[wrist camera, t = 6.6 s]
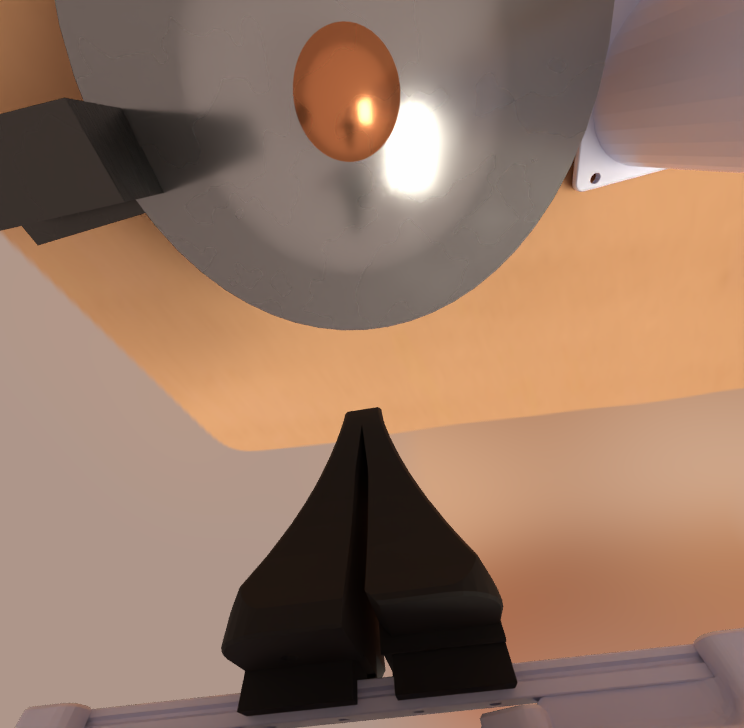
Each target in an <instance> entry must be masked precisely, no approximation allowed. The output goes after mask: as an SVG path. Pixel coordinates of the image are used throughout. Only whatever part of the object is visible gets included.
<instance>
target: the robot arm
mask: <svg viewBox="0 0 744 728" xmlns="http://www.w3.org/2000/svg"><path fill="white" fill-rule="evenodd" d="M665 169H684V170H700V171H717V172H733V173H744V0H615V2H614V10H613V18H612V26H611V33H610V41H609V46H608V51H607V56H606V60H605V65H604V69H603V74H602V78H601V83H600V87H599V91H598V94H597V97H596V100H595V103H594V107H593V110H592V113H591V116H590V119H589V122H588V125H587V129H586V131H585V134H584V136H583V138H582V141H581V143H580V146H579V148H578V150H577V153H576V155H575V162H574V172H573V182H572V185H573V188H574V190H576V191H580V192H581V191H587V190H591V189H594V188H598V187H602V186H606V185H609V184H613V183H617V182H620V181H624V180H628V179H632V178H635V177H639V176H643V175H646V174H650V173H654V172H657V171H661V170H665ZM593 174H596V178H595V180H594V181H593V182H592V183H591V182H590V179H591V177H592V175H593ZM502 610H503V603H502V599H501V596H500V594H499V592H498V590H497V587H496V585H495V583H494V582H493V580H492V578H491V576H490V575H489V573H488V571H487V570H486V568H485V566H484V565H483V563H482V562H481V560H480V558H479V557H478V555H477V554H476V553H475V552H474V551H473V550H472V549H471V548H470V547H469V546H468V545H467V544H466V543H465V542H464V541H463V540H462V539H461V537H460V536H459V535H458V534H457V533H456V532H455V531H454V530H453V528H452V527H451V526H450V525H449V524H448V523H447V522H446V521H445V519H444V518H443V517H442V516H441V515H440V513H439V512H438V511H437V510H436V508H435V507H434V506H433V505H432V503H431V502H430V501H429V500H428V498H427V497H426V496H425V494H424V493H423V492H422V490H421V489H420V488H419V486H418V484H417V483H416V482H415V480H414V479H413V477H412V476H411V474H410V473H409V471H408V469H407V468H406V466H405V464H404V463H403V461H402V459H401V458H400V456H399V454H398V452H397V450H396V448H395V446H394V444H393V443H392V440H391V438H390V436H389V434H388V431H387V429H386V426H385V424H384V421H383V416H382V411H381V409H380V408H378V407H376V408H370V409H363V410H357V411H350V412H347V413H346V414H345V418H344V422H343V425H342V428H341V431H340V433H339V436H338V439H337V441H336V444H335V446H334V449H333V451H332V453H331V456H330V458H329V460H328V462H327V464H326V466H325V468H324V470H323V472H322V474H321V477H320V478H319V480H318V482H317V484H316V486H315V488H314V490H313V491H312V493H311V494H310V496H309V498H308V500H307V501H306V503H305V504H304V506H303V507H302V509H301V510H300V512H299V513H298V515H297V517H296V518H295V519H294V521H293V523H292V524H291V525H290V527H289V528H288V529H287V531H286V532H285V533H284V535H283V536H282V537H281V539H280V540H279V541H278V543H277V544H276V545H275V546H274V548H273V549H272V550H271V552H270V553H269V554H268V555H267V557H266V558H265V559H264V560H263V561H262V562H261V564H260V565H259V566H258V567H257V568H256V569H255V571H254V572H253V573H252V574H251V575H250V576H249V577H248V579H247V580H246V581H245V582H244V583H243V584H242V585H241V587H240V588H239V591H238V594H237V596H236V599H235V602H234V605H233V607H232V610H231V613H230V617H229V620H228V624H227V628H226V632H225V635H224V639H223V643H222V647H221V649H222V653H223V655H224V656H225V657H226V658H227V659H228V660H230V661H231V662H233V663H234V664H236V665H237V666H239V667H240V668H242V669H243V670H245V675H244V680H243V684H242V689H241V693H237V694H227V695H218V696H209V697H201V698H190V699H181V700H173V701H164V702H154V703H144V704H135V705H126V706H117V707H108V708H99V709H91V708H90V707H88V706H86V705H82V704H77V703H60V704H52V705H43V706H33V707H29V708H28V709H26V710H25V711H24V713H23V714H22V716H21V717H20V719H19V721H18V723H17V724H16V726H15V728H297V727H307V726H317V725H326V724H336V723H346V722H356V721H366V720H376V719H385V718H395V717H404V716H415V715H425V714H435V713H444V712H454V711H464V710H473V709H483V708H494V707H503V706H513V705H519V706H514V707H510V708H506V709H502V710H497V711H493V712H489V713H485V714H482V716H481V718H480V720H481V725H482V727H481V728H744V628H738V629H729V630H721V631H714V632H710V633H707V634H703V635H701V636H699V637H698V638H697V639H696V640H695V641H694V644H687V645H677V646H668V647H659V648H650V649H641V650H632V651H622V652H612V653H604V654H594V655H585V656H576V657H567V658H557V659H548V660H539V661H530V662H521V663H512V662H511V659H510V656H509V652H508V649H507V646H506V643H505V642H506V637H505V633H504V630H503V627H502V624H501V614H502ZM384 656H385V658H386V660H387V662H388V664H389V666H390V668H391V670H392V672H393V676H392V677H383V678H382V676H383V674H384V672H385V662H384ZM533 703H537V704H533ZM523 704H527V705H523Z"/></svg>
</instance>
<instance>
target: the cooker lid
mask: <svg viewBox="0 0 744 728" xmlns="http://www.w3.org/2000/svg"><path fill="white" fill-rule="evenodd" d="M614 2H615V0H55V4H56V10H57V15H58V20H59V25H60V29H61V33H62V36H63V39H64V43H65V46H66V50H67V53H68V57H69V60H70V64H71V67H72V71H73V74H74V77H75V80H76V82H77V85H78V87H79V90H80V93H81V95H82V98H83V100H84V101H80V100H74V99H68V98H62V99H58V100H54V101H50V102H46V103H42V104H38V105H34V106H30V107H26V108H22V109H18V110H14V111H11V112H7V113H3V114H0V231H1V230H5V229H9V228H14V227H18V226H23V225H27V224H31V223H36V222H40V221H44V220H49V219H53V218H58V217H62V216H66V215H71V214H75V213H79V212H84V211H88V210H93V209H97V208H101V207H106V206H110V205H115V204H119V203H123V202H128V201H132V200H136V201H137V202H138V203H139V205H140V206H141V207H142V209H143V210H144V211H145V213H146V214H147V215H148V217H149V218H150V219H151V221H152V222H153V223H154V225H155V226H156V227H157V228H158V229H159V230H160V231H161V232H162V234H163V235H164V236H165V237H166V238H167V239H168V240H169V241H170V242H171V243H172V245H173V246H174V247H175V248H176V249H177V250H178V251H179V252H180V253H181V254H182V255H183V256H184V257H186V258H187V259H188V260H189V261H190V262H191V263H192V264H193V265H194V266H195V267H196V268H198V269H199V270H200V271H201V272H202V273H203V274H205V275H206V276H207V277H209V278H210V279H211V280H213V281H214V282H215V283H217V284H218V285H219V286H221V287H222V288H223V289H225V290H226V291H228V292H230V293H231V294H233V295H235V296H236V297H238V298H240V299H241V300H243V301H245V302H246V303H248V304H250V305H252V306H254V307H257V308H259V309H261V310H263V311H265V312H267V313H270V314H272V315H274V316H277V317H280V318H283V319H286V320H289V321H292V322H295V323H299V324H304V325H309V326H313V327H318V328H326V329H336V330H367V329H375V328H382V327H389V326H393V325H397V324H401V323H405V322H409V321H412V320H414V319H417V318H420V317H422V316H425V315H428V314H430V313H433V312H435V311H437V310H438V309H440V308H442V307H444V306H446V305H448V304H450V303H452V302H454V301H456V300H457V299H459V298H460V297H462V296H463V295H465V294H466V293H468V292H469V291H471V290H472V289H474V288H475V287H476V286H478V285H479V284H480V283H481V282H482V281H484V280H485V279H486V278H487V277H489V276H490V275H491V274H492V273H493V272H495V271H496V270H497V269H498V268H499V267H500V266H501V265H502V264H503V263H504V262H505V261H506V260H507V259H508V258H509V257H510V256H511V255H512V254H513V253H514V252H515V251H516V249H517V248H518V247H519V246H520V245H521V243H522V242H523V241H524V240H525V238H526V237H527V236H528V235H529V233H530V232H531V231H532V230H533V228H534V227H535V226H536V224H537V223H538V221H539V220H540V218H541V217H542V215H543V214H544V212H545V211H546V209H547V208H548V206H549V205H550V203H551V202H552V200H553V199H554V197H555V195H556V193H557V191H558V189H559V187H560V186H561V184H562V182H563V180H564V178H565V176H566V174H567V172H568V171H569V169H570V167H571V165H572V162H573V160H574V157H575V155H576V153H577V150H578V148H579V146H580V143H581V141H582V138H583V136H584V134H585V131H586V129H587V125H588V122H589V119H590V116H591V113H592V110H593V107H594V103H595V100H596V97H597V94H598V91H599V87H600V83H601V78H602V74H603V69H604V65H605V60H606V56H607V51H608V46H609V41H610V33H611V26H612V18H613V10H614Z"/></svg>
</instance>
